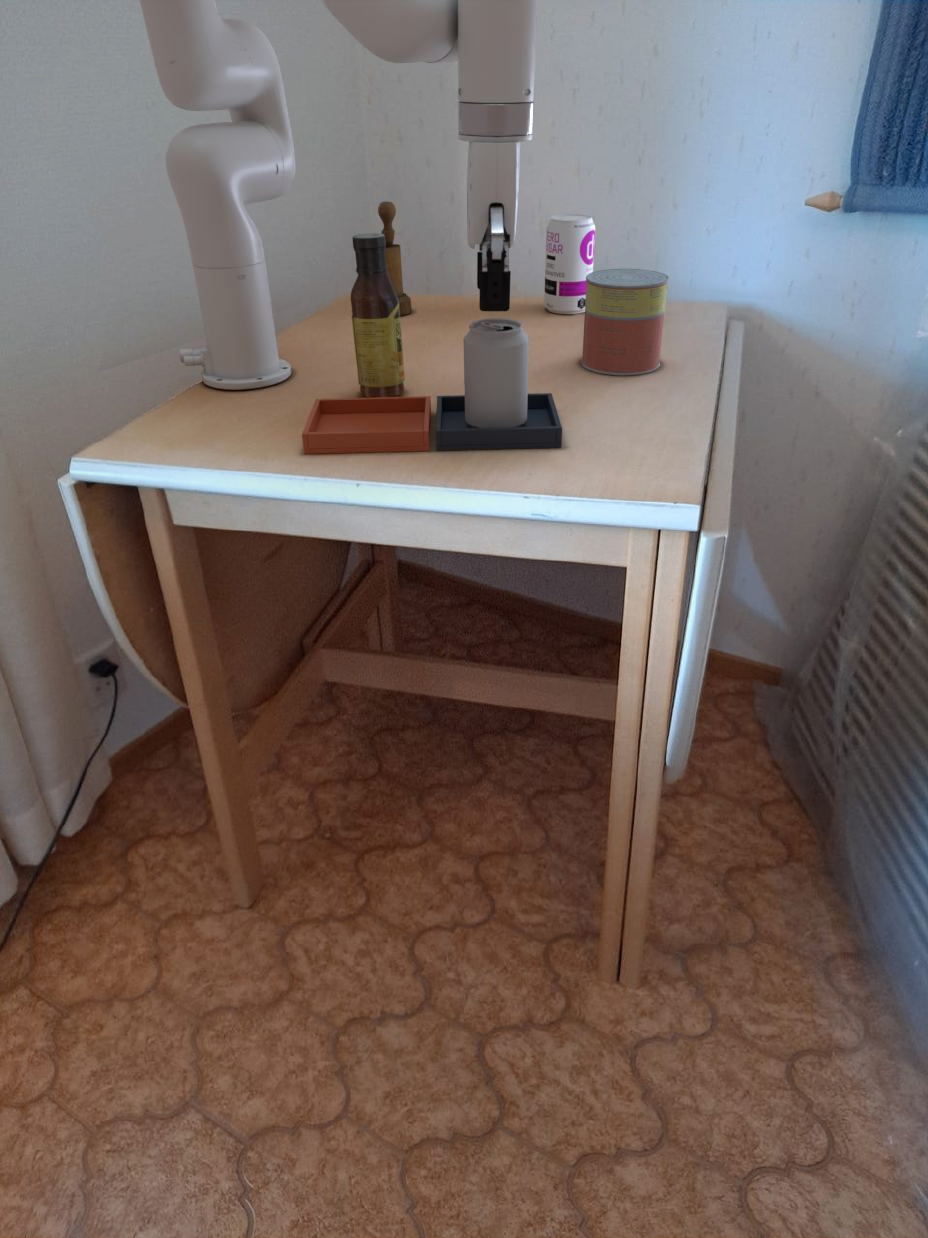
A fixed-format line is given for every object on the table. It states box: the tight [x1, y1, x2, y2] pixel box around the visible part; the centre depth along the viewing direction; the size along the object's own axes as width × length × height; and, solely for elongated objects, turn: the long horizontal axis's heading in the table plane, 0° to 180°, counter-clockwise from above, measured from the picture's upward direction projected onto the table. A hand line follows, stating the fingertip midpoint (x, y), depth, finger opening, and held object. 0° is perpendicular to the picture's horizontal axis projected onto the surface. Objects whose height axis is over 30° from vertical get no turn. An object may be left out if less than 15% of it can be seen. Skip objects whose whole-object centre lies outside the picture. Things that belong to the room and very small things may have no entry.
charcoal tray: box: [435, 392, 563, 452], centre depth 104 cm, size 14×12×2 cm
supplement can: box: [543, 213, 596, 315], centre depth 149 cm, size 8×8×15 cm
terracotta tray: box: [301, 395, 432, 455], centre depth 104 cm, size 14×12×2 cm
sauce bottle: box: [350, 232, 406, 398], centre depth 111 cm, size 7×6×20 cm
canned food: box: [581, 268, 670, 377], centre depth 122 cm, size 11×11×12 cm
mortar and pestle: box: [377, 200, 412, 317], centre depth 149 cm, size 7×6×18 cm
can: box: [462, 317, 530, 428], centre depth 101 cm, size 8×8×12 cm
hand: (492, 299), depth 96 cm, fingers open, 9 cm apart
